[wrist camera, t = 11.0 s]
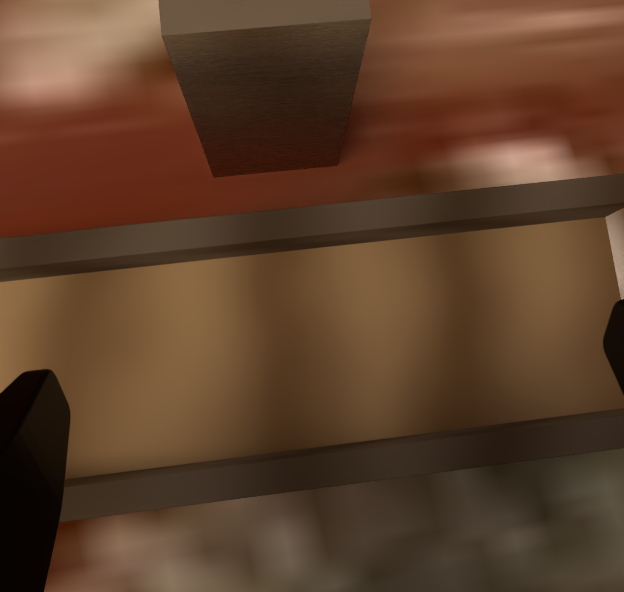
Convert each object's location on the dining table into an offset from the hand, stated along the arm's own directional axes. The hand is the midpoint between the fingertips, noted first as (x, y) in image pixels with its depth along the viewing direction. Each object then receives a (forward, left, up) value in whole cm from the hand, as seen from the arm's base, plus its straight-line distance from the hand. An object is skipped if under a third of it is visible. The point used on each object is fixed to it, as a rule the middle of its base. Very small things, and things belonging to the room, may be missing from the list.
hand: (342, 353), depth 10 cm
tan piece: (0, +1, -14) cm, 14 cm away
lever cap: (+6, +8, -14) cm, 17 cm away
